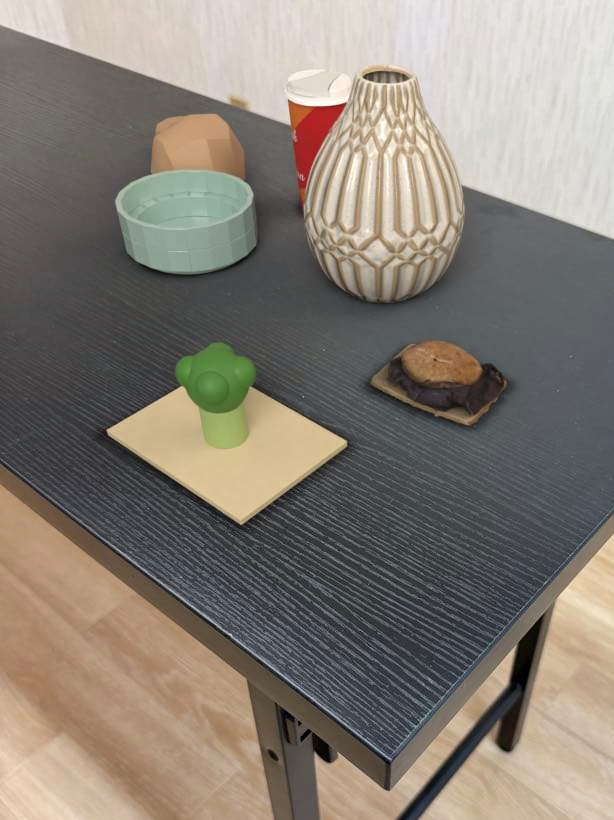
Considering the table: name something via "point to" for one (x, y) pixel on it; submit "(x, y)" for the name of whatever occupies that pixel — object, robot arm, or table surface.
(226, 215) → the bowl
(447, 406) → the brown round-topped food
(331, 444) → the mat
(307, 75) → the paper cup
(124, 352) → the table surface
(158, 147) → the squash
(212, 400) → the broccoli
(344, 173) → the vase
